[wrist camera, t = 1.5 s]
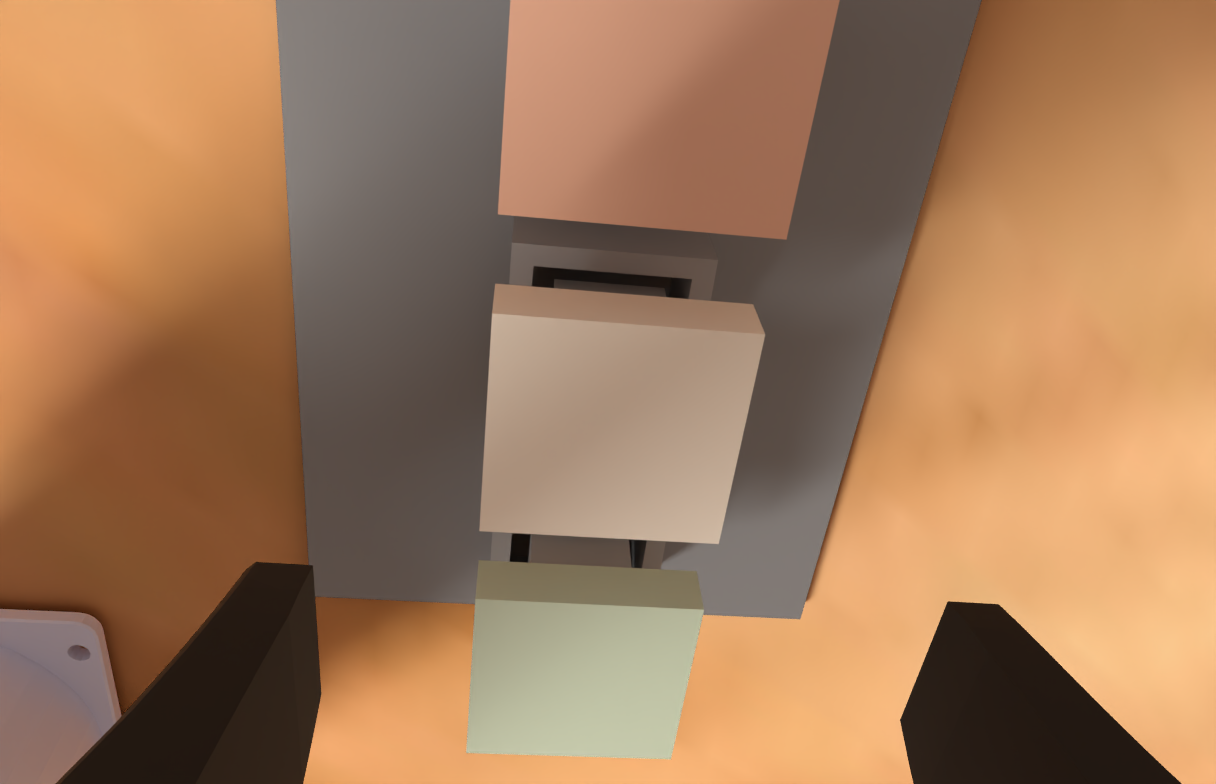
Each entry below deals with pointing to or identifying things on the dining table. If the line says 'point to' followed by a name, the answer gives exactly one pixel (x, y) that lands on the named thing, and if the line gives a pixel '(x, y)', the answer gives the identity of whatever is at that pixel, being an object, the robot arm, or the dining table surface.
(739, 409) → the key cream
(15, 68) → the dining table surface
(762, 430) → the keypad base
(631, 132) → the key terracotta
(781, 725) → the dining table surface
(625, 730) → the key sage
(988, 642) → the robot arm
